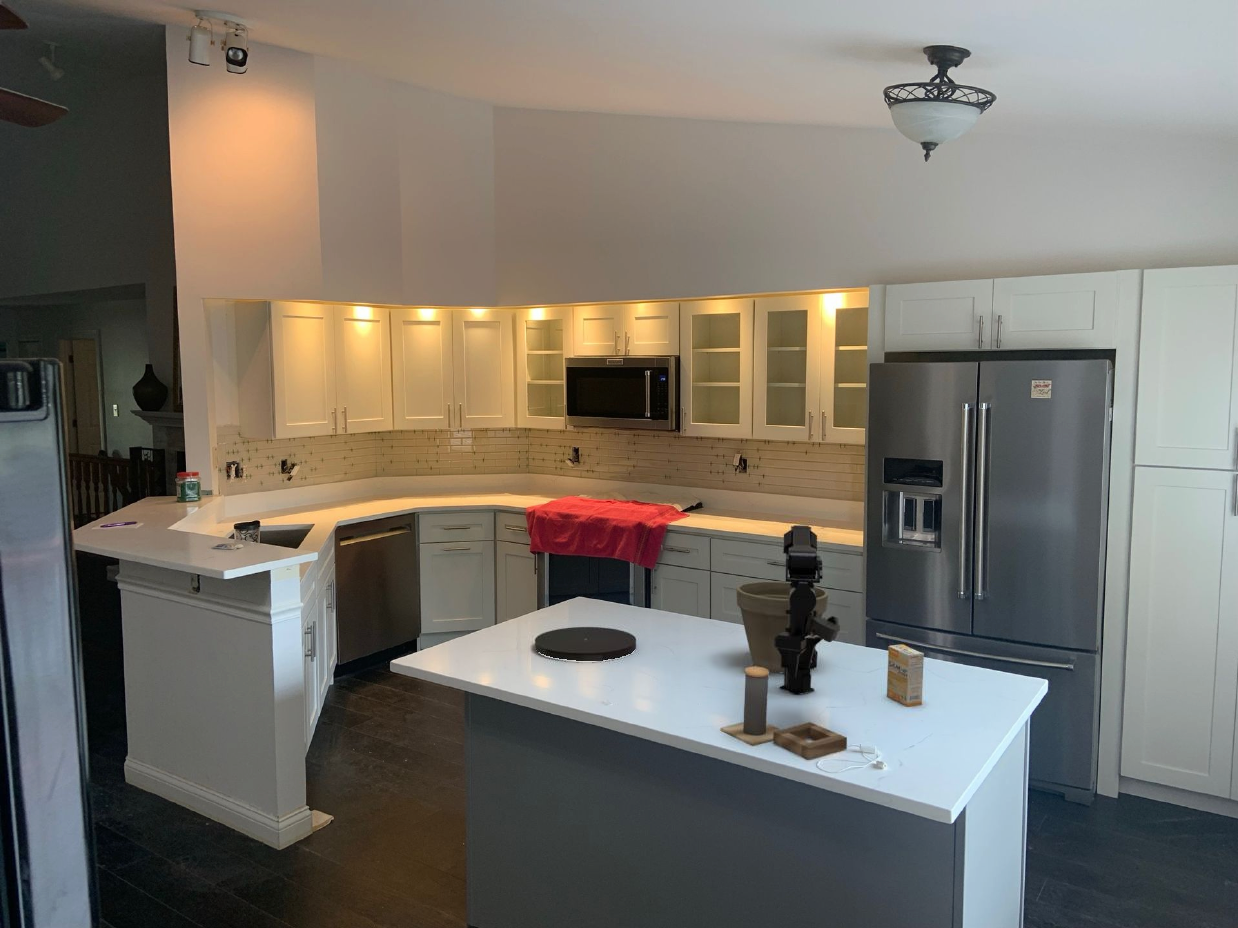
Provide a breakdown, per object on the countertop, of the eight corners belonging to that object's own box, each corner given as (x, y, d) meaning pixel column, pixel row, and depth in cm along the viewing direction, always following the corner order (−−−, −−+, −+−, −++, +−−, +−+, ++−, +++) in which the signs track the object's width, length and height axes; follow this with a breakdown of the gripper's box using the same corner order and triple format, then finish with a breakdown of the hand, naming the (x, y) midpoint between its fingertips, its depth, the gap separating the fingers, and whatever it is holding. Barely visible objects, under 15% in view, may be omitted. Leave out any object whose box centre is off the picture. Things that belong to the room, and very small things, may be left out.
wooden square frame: (773, 742, 203) (773, 731, 203) (809, 732, 209) (810, 721, 208) (809, 759, 194) (809, 747, 193) (846, 748, 200) (846, 737, 199)
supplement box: (885, 696, 234) (887, 645, 233) (901, 694, 236) (903, 643, 235) (906, 707, 226) (908, 654, 225) (922, 704, 228) (924, 652, 227)
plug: (739, 727, 210) (741, 666, 208) (761, 725, 211) (763, 665, 210) (747, 736, 205) (749, 674, 203) (769, 734, 206) (772, 673, 204)
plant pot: (820, 654, 270) (822, 581, 269) (831, 681, 246) (833, 600, 244) (734, 651, 273) (735, 578, 271) (736, 677, 248) (737, 597, 247)
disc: (521, 641, 283) (521, 631, 283) (611, 631, 296) (611, 622, 296) (556, 668, 256) (556, 657, 256) (653, 656, 269) (653, 646, 268)
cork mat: (720, 729, 210) (720, 727, 210) (757, 720, 216) (757, 718, 216) (752, 745, 201) (752, 743, 201) (790, 735, 207) (790, 733, 207)
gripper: (823, 615, 201) (821, 687, 201) (848, 602, 217) (846, 668, 217) (774, 609, 206) (772, 679, 207) (802, 597, 222) (800, 661, 223)
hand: (800, 672), depth 213 cm, fingers open, 9 cm apart
